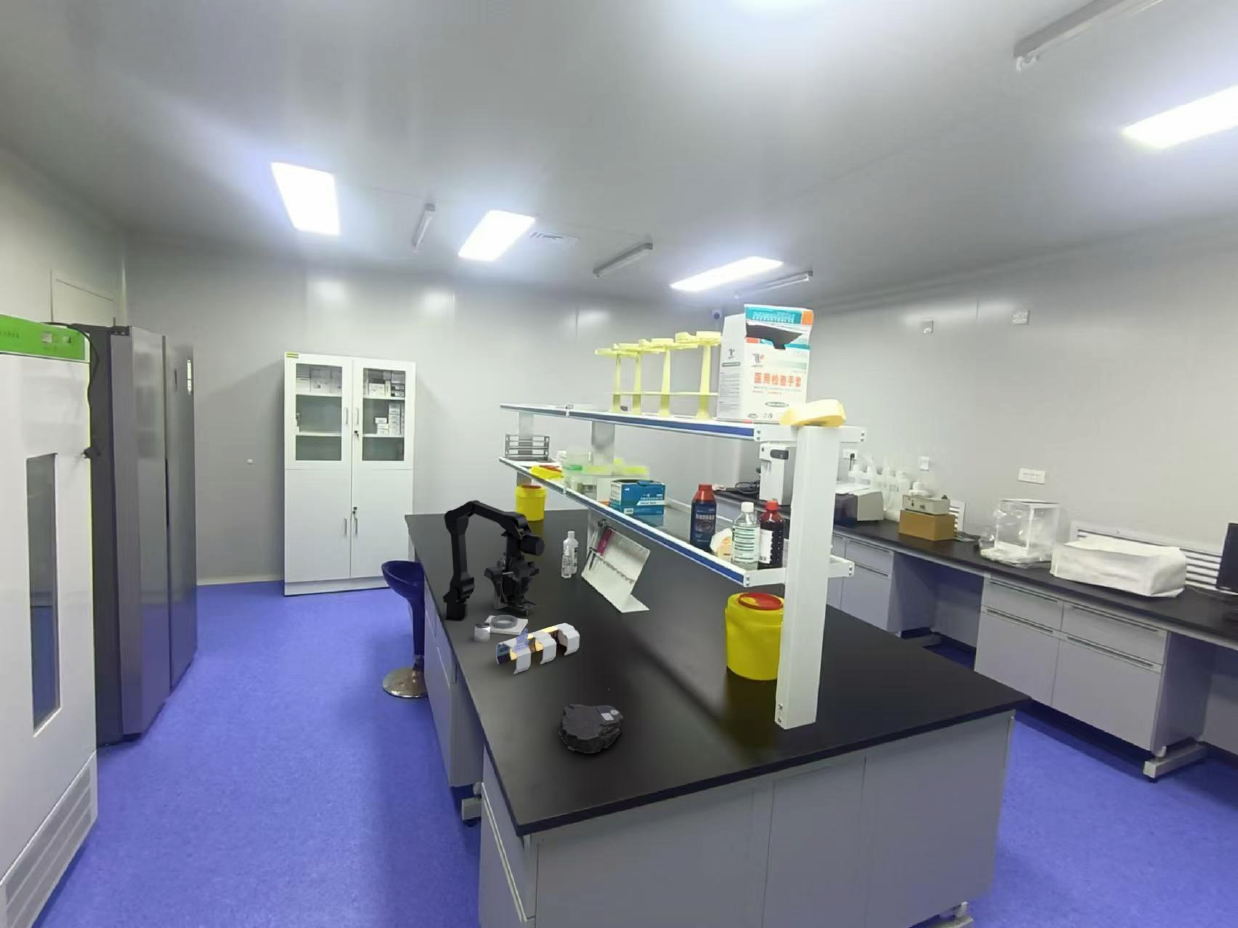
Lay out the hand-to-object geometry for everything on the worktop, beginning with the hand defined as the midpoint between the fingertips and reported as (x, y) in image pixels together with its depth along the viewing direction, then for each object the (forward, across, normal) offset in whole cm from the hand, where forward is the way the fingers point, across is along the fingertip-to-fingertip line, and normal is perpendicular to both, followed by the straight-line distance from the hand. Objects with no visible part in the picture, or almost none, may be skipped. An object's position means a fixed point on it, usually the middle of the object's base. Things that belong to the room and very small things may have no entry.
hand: (510, 594), depth 192 cm
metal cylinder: (+13, -11, -1) cm, 17 cm away
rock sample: (+13, -14, -64) cm, 67 cm away
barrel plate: (+13, +1, +4) cm, 14 cm away
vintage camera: (+13, +12, +16) cm, 24 cm away
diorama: (+13, -2, -23) cm, 26 cm away
